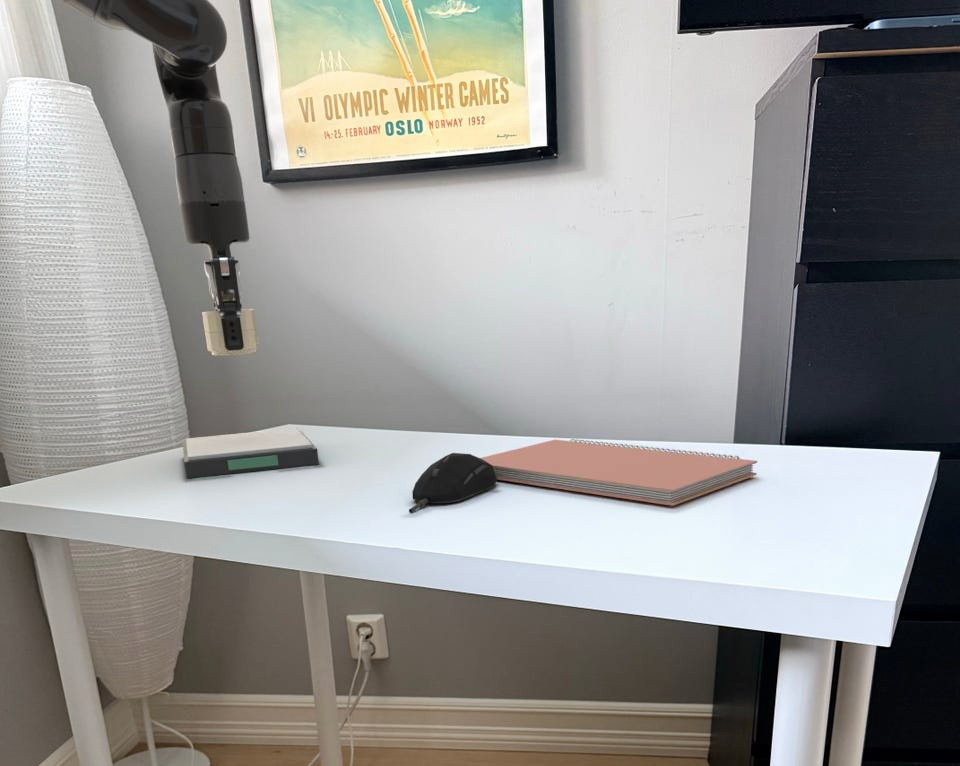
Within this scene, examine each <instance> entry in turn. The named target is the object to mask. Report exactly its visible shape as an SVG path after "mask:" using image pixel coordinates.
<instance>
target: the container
mask: <svg viewBox="0 0 960 766" xmlns="http://www.w3.org/2000/svg"><path fill="white" fill-rule="evenodd" d="M241 312H242V313H241V316H237V317H240V321H241V328H242V336H243V343H244V348H243V349H242V350H232V351H229V350H227V349H226V348H225V343H224V336H223V329H222V323H221V318H224V317H221V318H220V314H219V315H218V311H215V310H213V311H211V310H210V311H203V312H201V314H202V321H203V327H204V334H205V340H206V347H207V351H208V352H211V355H212V356H236V355H246V354H248V355H249V354H254V353H256V352H257V349H259V348H260V343H259V342H260V341H259V336H258V328H257V326H258V325H257V321H256V311H255V309H254V308H247V309H246V308H245V309H244V308H241Z"/></svg>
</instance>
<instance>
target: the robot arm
mask: <svg viewBox="0 0 960 766" xmlns="http://www.w3.org/2000/svg"><path fill="white" fill-rule="evenodd" d="M60 2H62V3H64V4H66V5H68V6H69V7H71V8H72V9H74V10H76V11H77V12H80V13H81V14H83V15H85V16H86V17H88V18H89V19H92V20H93V21H95V22H96V23H98V24H100V25H101V26H104V27H106V28H108V29H111V30H114V31H122V30H124V31H128V32H131V33H132V34H135V35H136V36H138V37H140V38H142V39H143V40H146V41H148V42H150V43H151V47H152V53H153V60H154V65H155V70H156V73H157V77H158V81H159V84H160V89H161V91H162V95H163V99H164V102H165V105H166V109H167V112H168V119H169V120H168V122H169V129H170V131H169V132H170V136H171V145H172V152H173V154H174V155H173V156H174V165H175V166H174V167H175V183H176V190H177V197H178V204H179V210H180V217H181V223H182V230H183V236H184V241H185V243H186V244H187V245H189V246H205V247H207V250H208V254H209V255H208V256H209V259H208V261H204V262H203V266H204V272H205V277H206V279H207V281H208V288H209V294H210V298H211V300H213V301H214V302H213V307H214V311H218V315H219V314H220V318H221V317H224V318H221V323H222V329H223V336H224V343H225V348H226V349H227V350H229V351H232V350H242V349H243V348H244V343H243V336H242V328H241V321H240V317H237V316H241V313H242V312H241V309H243V307H242V306H243V305H242V303H241V298H242V287H241V281H240V275H241V270H240V269H241V267H240V262H239V259H235V256H232V253H231V245H233V244H234V245H236V244H237V245H238V244H245V243H248V242H249V240H250V229H249V223H248V214H247V207H246V201H245V192H244V183H243V178H242V173H241V169H240V166H239V162H238V157H237V147H236V141H235V140H236V139H235V134H234V133H235V132H234V127H233V120H232V116H231V112H230V109H229V106H228V105H227V104H226V103H225V102H224V101H223V100H222V96H221V89H220V85H219V79H218V73H217V72H218V71H217V63H218V62H219V61H220V60H221V59H222V58H223V56H224V53H225V51H226V48H227V44H228V31H227V27H226V24H225V21H224V19H223V17H222V15H221V14H220V12H219V10H218V9H217V8H216V7H215V6H214V5H213V4H212V3H211V2H210V1H209V0H60Z"/></svg>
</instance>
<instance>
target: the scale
mask: <svg viewBox="0 0 960 766" xmlns="http://www.w3.org/2000/svg"><path fill="white" fill-rule="evenodd" d="M182 452H183V463H184V469H185V470H184V471H185V476H186V479H196V478H205V477H215V476H224V475H233V474H242V473H252V472H261V471H271V470H280V469H289V468H297V467H299V468H300V467H307V466H317V465H320V462H319V451H318V448H317V447H316V446H315V445H314V444H313V442H312V441H311V439H309V438H308V436H306V435H305V434H304V433H303V431H302V430H300V429H299V428H298V427H294V428H293V427H291V428H282V429H281V428H280V429H272V430H271V429H270V430H262V431H261V430H260V431H252V432H251V431H250V432H241V433H230V434H229V433H228V434H220V435H210V436H199V437H190V438H189V437H188V438H185V441H183V442H182Z"/></svg>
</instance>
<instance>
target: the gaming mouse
mask: <svg viewBox="0 0 960 766" xmlns="http://www.w3.org/2000/svg"><path fill="white" fill-rule="evenodd" d="M481 458H482V457H478V456H476V455H473V454H471V453H460V452H451V453H449V454H447V455H444V456H443V457H441V458H440V459H438V460H437V461H435V462H433V463H431V465H429V466H428V467H427V468H426V469H425V471H424V472H423V473H422V474H420V476H419V477H418V479H417V480H416V482H415V483H414V485H413V489H412V491H411V492H412V493H411V494H412V500H414V501H417V503H416V504H415V505H414V506H412V507H410V508H409V509H408V512H409V513H411V514H412V513H413V512H414V511H416V510H418V509H420V508H423V507H425V506H427V505H428V504H451V503H452V504H453V503H457V502H460V501H463V500H466V499H468V498H470V497H473V496H475V495H478V494H481V493H483V492H485V491H487V490H489V489H492V487H494V486H495V484H496V483H497V482H498V479H497V476H496V474H495V471H494V469H493V466H492V465H491V464H489V463H488V462H486V461H484V460H483V459H481Z"/></svg>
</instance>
